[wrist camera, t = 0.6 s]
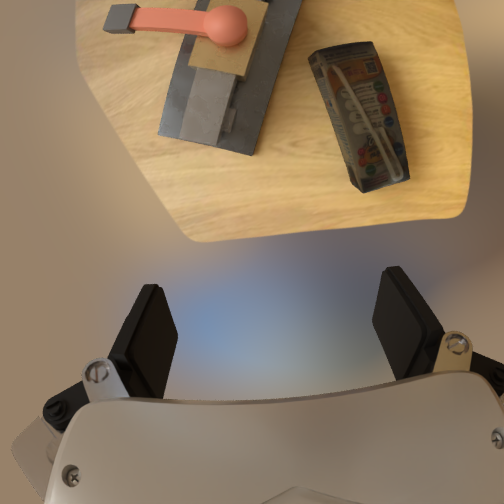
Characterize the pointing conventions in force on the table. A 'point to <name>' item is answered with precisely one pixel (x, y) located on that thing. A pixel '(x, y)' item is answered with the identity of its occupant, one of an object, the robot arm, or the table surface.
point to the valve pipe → (228, 78)
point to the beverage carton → (362, 114)
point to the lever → (180, 22)
